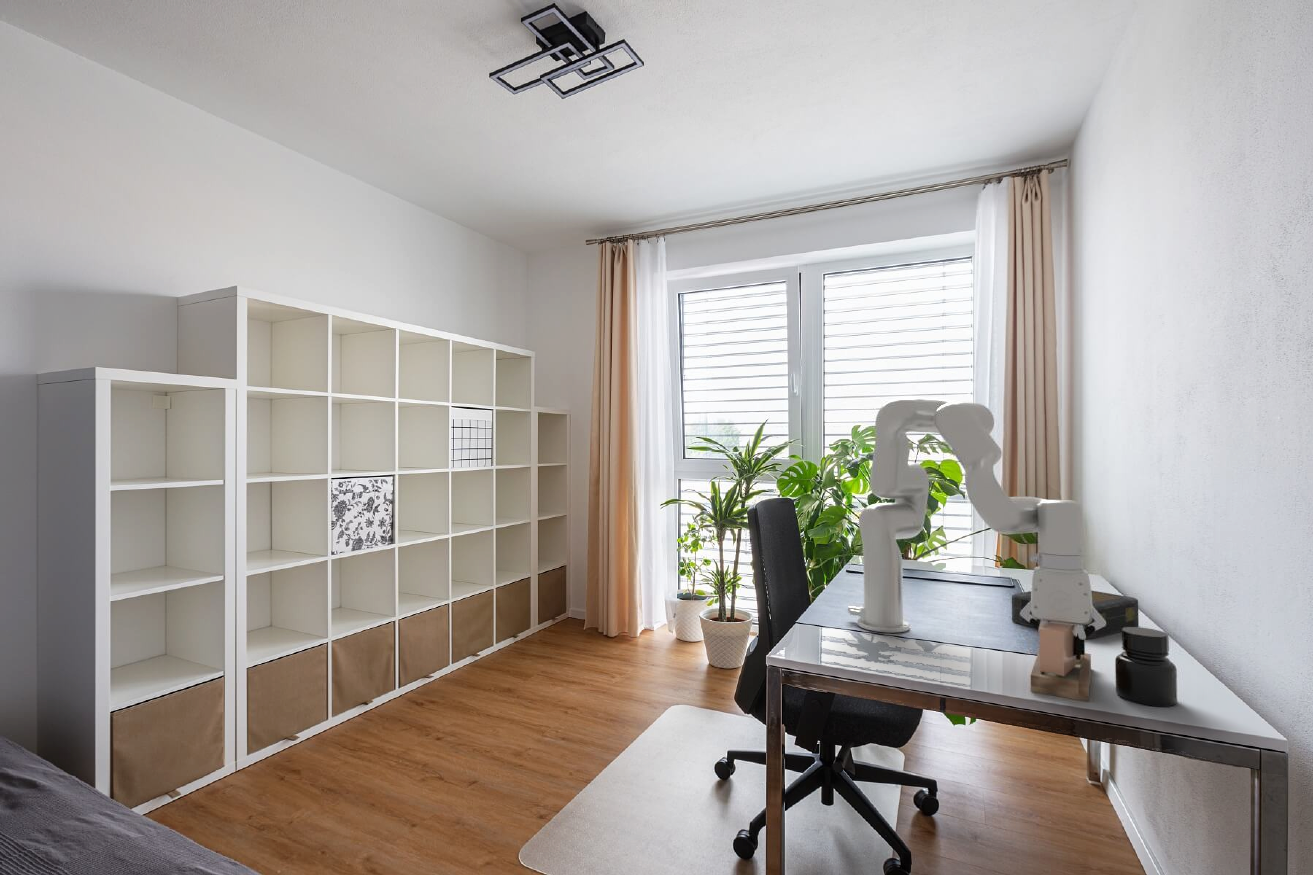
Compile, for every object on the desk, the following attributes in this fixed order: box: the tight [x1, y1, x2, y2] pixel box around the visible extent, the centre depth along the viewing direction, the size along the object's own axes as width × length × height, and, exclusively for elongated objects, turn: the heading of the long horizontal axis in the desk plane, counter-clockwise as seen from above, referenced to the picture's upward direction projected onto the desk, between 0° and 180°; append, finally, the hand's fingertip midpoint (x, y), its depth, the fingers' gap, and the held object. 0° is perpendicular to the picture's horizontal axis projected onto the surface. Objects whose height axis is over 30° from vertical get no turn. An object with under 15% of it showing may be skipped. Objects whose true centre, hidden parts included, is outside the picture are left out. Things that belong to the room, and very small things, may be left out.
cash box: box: [1011, 589, 1140, 640], centre depth 170 cm, size 25×20×8 cm
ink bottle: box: [1114, 626, 1178, 707], centre depth 118 cm, size 10×9×12 cm
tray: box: [1030, 651, 1092, 703], centre depth 127 cm, size 9×22×3 cm, turn 145°
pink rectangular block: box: [1038, 621, 1084, 676], centre depth 128 cm, size 4×16×8 cm, turn 136°
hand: (1062, 654), depth 128 cm, fingers closed on pink rectangular block, 4 cm apart
